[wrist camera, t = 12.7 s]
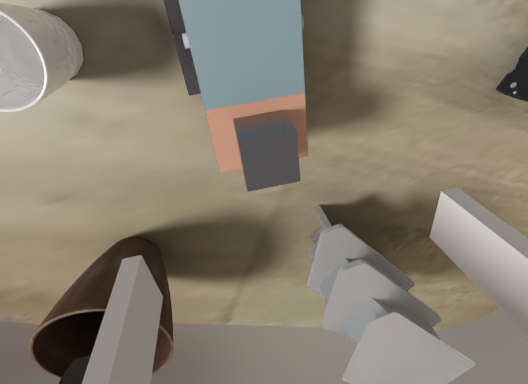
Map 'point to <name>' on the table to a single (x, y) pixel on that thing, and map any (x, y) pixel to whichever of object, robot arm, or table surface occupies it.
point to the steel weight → (267, 149)
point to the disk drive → (517, 80)
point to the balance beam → (246, 65)
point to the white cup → (34, 56)
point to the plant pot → (98, 311)
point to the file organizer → (377, 313)
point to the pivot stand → (182, 46)
